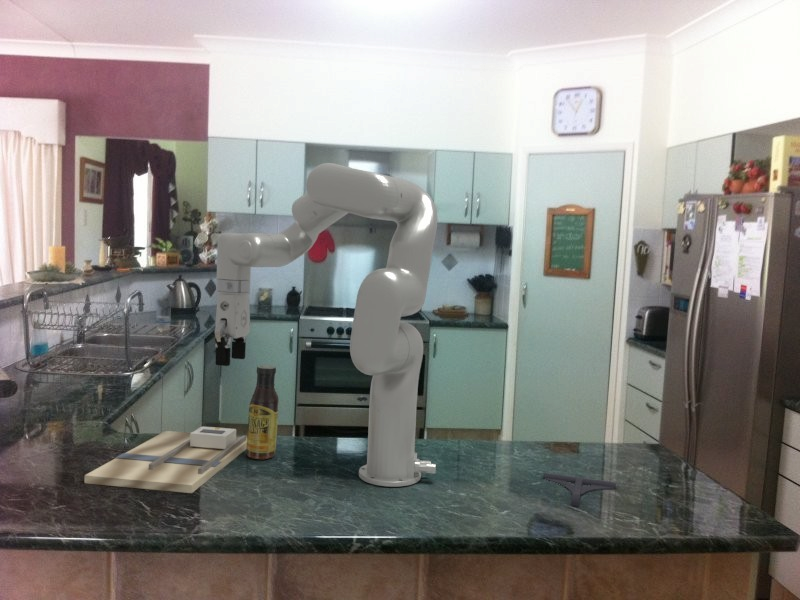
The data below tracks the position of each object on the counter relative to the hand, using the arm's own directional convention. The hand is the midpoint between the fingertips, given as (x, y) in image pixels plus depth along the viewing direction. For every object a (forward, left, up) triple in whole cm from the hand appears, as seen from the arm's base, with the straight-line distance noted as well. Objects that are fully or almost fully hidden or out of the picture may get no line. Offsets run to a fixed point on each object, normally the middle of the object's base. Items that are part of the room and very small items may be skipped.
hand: (230, 361), depth 154 cm
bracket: (-77, +15, -20) cm, 81 cm away
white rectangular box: (0, +9, -17) cm, 19 cm away
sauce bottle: (-11, +9, -19) cm, 24 cm away
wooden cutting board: (+4, +17, -19) cm, 26 cm away
